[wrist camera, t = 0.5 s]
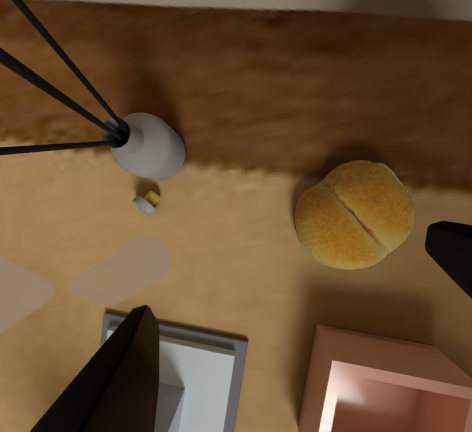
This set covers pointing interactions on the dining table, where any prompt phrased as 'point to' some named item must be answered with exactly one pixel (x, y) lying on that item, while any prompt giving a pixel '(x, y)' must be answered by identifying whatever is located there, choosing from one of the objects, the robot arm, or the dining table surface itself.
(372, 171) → the bread roll
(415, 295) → the dining table surface
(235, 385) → the mat
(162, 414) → the lid
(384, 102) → the dining table surface
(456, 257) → the robot arm
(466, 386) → the pink open box
